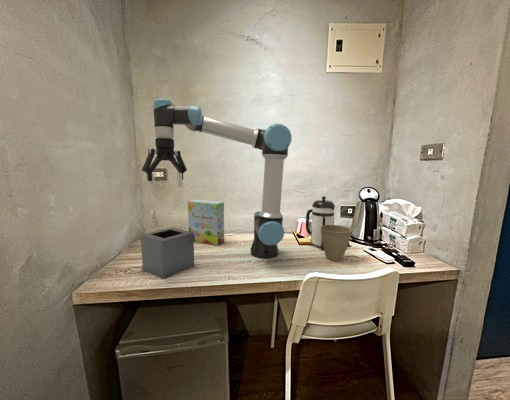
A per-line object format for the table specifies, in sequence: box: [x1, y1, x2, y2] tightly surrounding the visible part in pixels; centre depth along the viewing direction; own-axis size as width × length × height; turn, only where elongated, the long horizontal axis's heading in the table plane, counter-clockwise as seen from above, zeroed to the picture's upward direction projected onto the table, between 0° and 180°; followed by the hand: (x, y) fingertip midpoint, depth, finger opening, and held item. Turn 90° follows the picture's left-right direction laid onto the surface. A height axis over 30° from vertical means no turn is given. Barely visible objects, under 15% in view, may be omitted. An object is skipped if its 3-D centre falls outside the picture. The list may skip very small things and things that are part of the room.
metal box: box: [140, 227, 195, 280], centre depth 102 cm, size 16×16×16 cm
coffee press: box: [305, 195, 336, 251], centre depth 132 cm, size 17×16×30 cm
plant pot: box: [321, 224, 353, 262], centre depth 114 cm, size 15×15×16 cm
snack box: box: [187, 199, 225, 247], centre depth 138 cm, size 22×9×26 cm, turn 67°
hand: (167, 188), depth 98 cm, fingers open, 13 cm apart
